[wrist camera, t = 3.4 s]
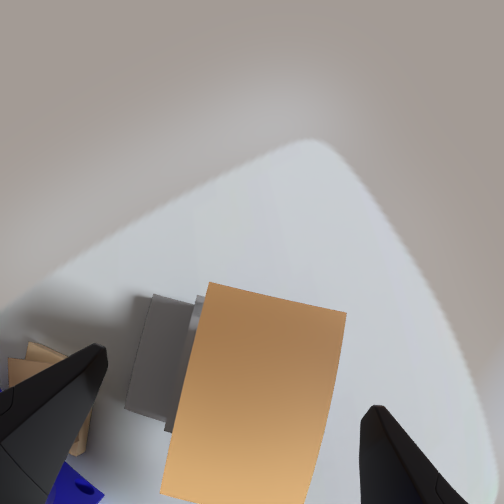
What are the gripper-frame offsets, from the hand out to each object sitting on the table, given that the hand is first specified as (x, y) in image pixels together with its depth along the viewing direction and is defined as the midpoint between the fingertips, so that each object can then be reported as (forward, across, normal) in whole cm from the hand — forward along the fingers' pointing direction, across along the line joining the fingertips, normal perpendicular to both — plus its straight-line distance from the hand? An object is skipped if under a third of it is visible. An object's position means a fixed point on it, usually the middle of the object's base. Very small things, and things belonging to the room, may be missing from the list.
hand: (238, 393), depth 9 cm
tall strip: (+5, 0, +5) cm, 7 cm away
